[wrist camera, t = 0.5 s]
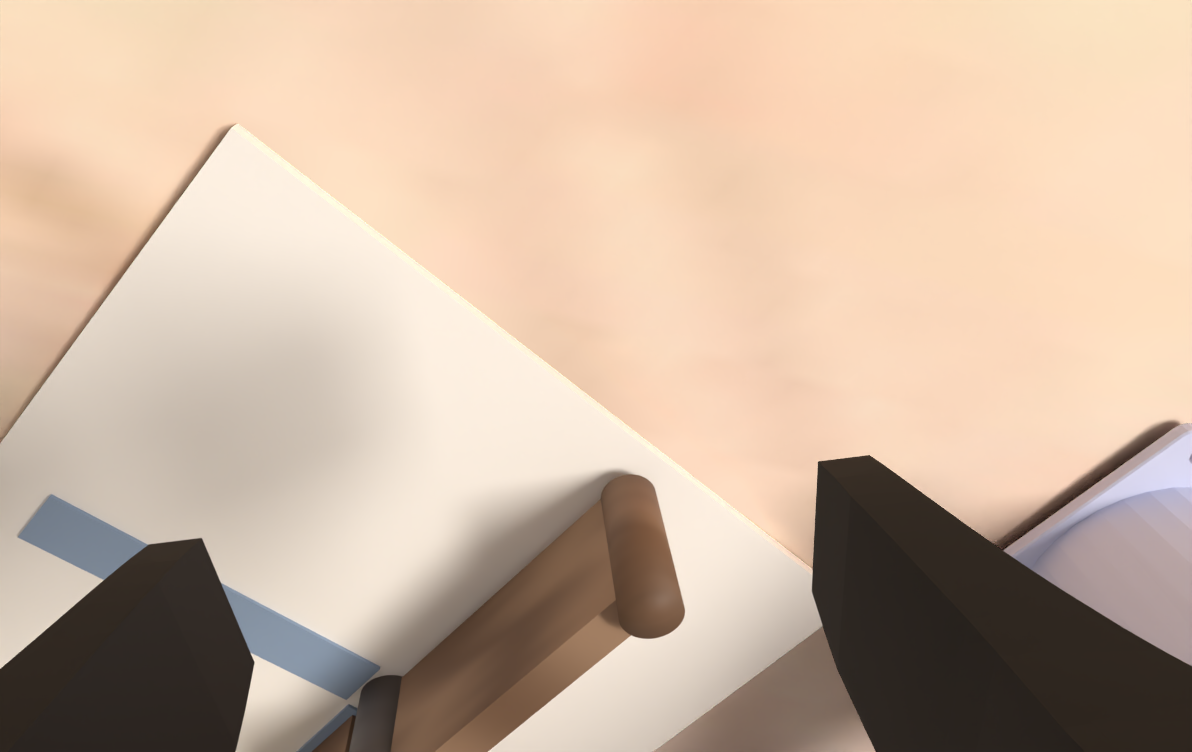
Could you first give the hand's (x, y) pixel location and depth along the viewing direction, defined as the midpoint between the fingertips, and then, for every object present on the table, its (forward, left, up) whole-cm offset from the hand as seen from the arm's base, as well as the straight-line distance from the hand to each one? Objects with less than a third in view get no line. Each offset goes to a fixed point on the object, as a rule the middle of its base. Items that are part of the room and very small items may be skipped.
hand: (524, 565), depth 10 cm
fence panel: (-6, +7, -9) cm, 12 cm away
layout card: (-4, +12, -10) cm, 16 cm away
